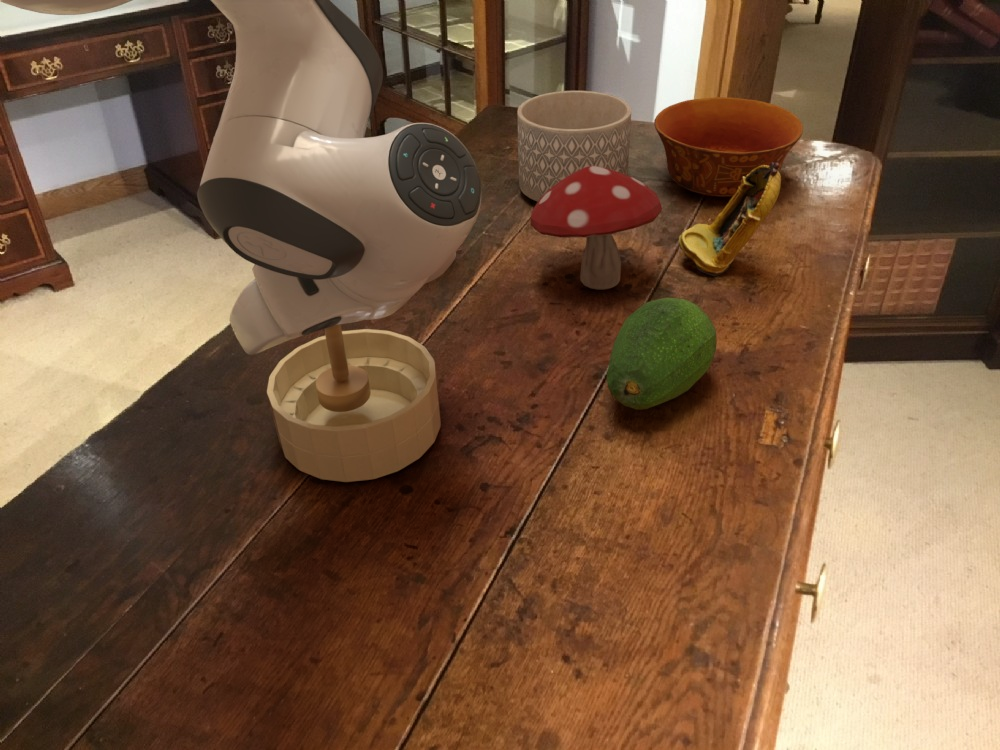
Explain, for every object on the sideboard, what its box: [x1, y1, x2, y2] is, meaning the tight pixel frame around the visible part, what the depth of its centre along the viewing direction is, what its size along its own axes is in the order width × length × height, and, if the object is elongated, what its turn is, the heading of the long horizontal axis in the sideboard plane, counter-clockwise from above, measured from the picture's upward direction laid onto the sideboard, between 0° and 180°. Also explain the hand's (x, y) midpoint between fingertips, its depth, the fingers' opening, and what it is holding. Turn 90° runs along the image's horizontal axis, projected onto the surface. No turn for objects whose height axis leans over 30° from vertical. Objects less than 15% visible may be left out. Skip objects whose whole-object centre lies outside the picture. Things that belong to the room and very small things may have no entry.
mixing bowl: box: [266, 328, 442, 483], centre depth 85 cm, size 16×16×7 cm
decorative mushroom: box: [530, 166, 663, 291], centre depth 105 cm, size 16×16×15 cm
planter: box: [516, 90, 632, 203], centre depth 127 cm, size 16×16×13 cm
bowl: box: [653, 96, 804, 198], centre depth 128 cm, size 21×21×10 cm
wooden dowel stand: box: [316, 324, 371, 412], centre depth 81 cm, size 5×5×17 cm
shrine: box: [678, 162, 782, 277], centre depth 107 cm, size 12×8×15 cm
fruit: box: [606, 297, 717, 410], centre depth 87 cm, size 15×10×10 cm, turn 142°
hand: (327, 315), depth 81 cm, fingers closed on wooden dowel stand
